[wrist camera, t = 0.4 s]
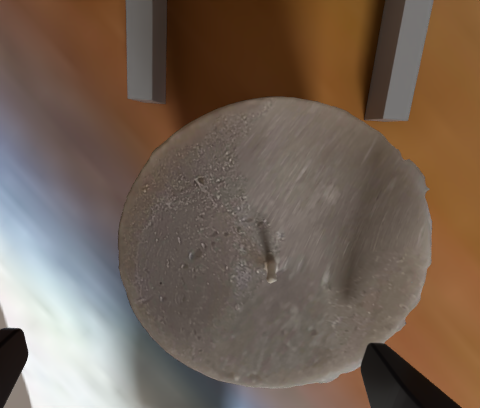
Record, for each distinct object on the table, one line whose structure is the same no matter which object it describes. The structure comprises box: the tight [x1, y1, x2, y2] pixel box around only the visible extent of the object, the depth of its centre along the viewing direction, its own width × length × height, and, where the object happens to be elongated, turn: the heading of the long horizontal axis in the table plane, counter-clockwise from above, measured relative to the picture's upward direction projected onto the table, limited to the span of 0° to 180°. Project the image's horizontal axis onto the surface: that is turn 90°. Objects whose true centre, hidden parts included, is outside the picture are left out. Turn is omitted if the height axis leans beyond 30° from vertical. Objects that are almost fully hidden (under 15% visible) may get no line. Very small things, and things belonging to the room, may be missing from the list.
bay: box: [126, 0, 433, 122], centre depth 18 cm, size 12×17×3 cm
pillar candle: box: [118, 97, 432, 388], centre depth 15 cm, size 10×10×15 cm
